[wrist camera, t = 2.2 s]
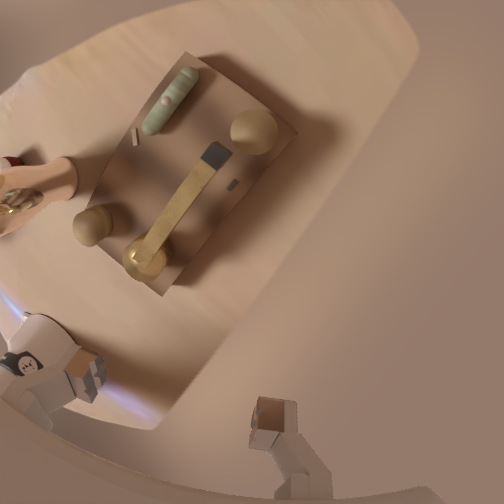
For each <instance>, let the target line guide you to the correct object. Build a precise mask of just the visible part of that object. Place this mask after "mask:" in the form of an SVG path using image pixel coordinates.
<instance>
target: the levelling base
mask: <svg viewBox="0 0 504 504" xmlns="http://www.w3.org/2000/svg"><path fill="white" fill-rule="evenodd" d="M297 134H298V132H296V131H295V130H294V129H293V128H292V127H290V126H289V125H288V124H287V123H286V122H284V121H283V120H282V119H281V118H280V117H278V116H277V115H276V114H275V113H273V112H272V111H271V110H270V109H268V108H267V107H266V106H264V105H263V104H262V103H261V102H259V101H258V100H257V99H255V98H254V97H253V96H251V95H250V94H249V93H247V92H246V91H245V90H243V89H242V88H240V87H239V86H238V85H236V84H235V83H233V82H232V81H231V80H229V79H228V78H226V77H225V76H223V75H222V74H220V73H219V72H217V71H216V70H214V69H213V68H211V67H210V66H208V65H207V64H205V63H204V62H202V61H201V60H199V59H197V58H196V57H194V56H193V55H191V54H189V53H188V52H186V51H185V53H184V54H183V55H182V56H181V57H180V59H179V60H178V61H177V62H176V63H175V65H174V66H173V67H172V68H171V70H170V71H169V72H168V74H167V75H166V76H165V77H164V79H163V80H162V81H161V83H160V84H159V85H158V87H157V88H156V89H155V91H154V92H153V94H152V95H151V96H150V98H149V99H148V101H147V102H146V103H145V105H144V106H143V108H142V109H141V111H140V112H139V114H138V115H137V117H136V118H135V120H134V121H133V123H132V124H131V126H130V128H129V129H128V131H127V132H126V134H125V136H124V137H123V139H122V141H121V142H120V144H119V146H118V147H117V149H116V151H115V153H114V154H113V156H112V158H111V160H110V161H109V163H108V165H107V167H106V169H105V171H104V173H103V174H102V176H101V178H100V180H99V182H98V184H97V186H96V188H95V190H94V192H93V194H92V196H91V198H90V201H89V203H88V205H87V207H86V209H85V211H83V212H81V213H79V214H77V215H76V216H75V218H74V220H73V232H74V235H75V237H76V238H77V240H78V241H79V242H80V243H81V244H82V245H84V246H87V247H92V246H94V245H96V244H97V245H98V246H99V247H100V248H101V249H103V250H104V251H105V252H106V253H107V254H109V255H110V256H111V257H112V258H113V259H115V260H116V261H117V262H118V263H119V264H121V265H122V266H123V267H124V265H123V262H122V255H123V252H124V250H125V248H126V247H127V246H128V245H129V244H131V243H132V242H133V241H134V240H135V239H136V238H138V237H139V236H140V235H141V234H142V233H144V232H146V231H150V229H151V228H152V226H153V225H154V223H155V222H156V220H157V219H158V217H159V216H160V214H161V213H162V211H163V210H164V208H165V207H166V205H167V204H168V202H169V201H170V199H171V198H172V197H173V195H174V194H175V192H176V191H177V190H178V188H179V187H180V185H181V184H182V183H183V181H184V180H185V178H186V177H187V176H188V174H189V173H190V172H191V170H192V169H193V168H194V166H195V165H196V164H197V162H198V161H199V160H200V157H201V156H202V155H203V153H204V152H205V151H206V149H207V148H208V147H209V146H210V144H211V143H212V142H216V141H218V142H219V143H221V144H222V145H223V146H224V147H226V148H227V149H228V150H230V151H231V152H232V153H233V155H232V156H231V157H230V158H229V159H228V161H227V162H226V163H225V164H224V166H223V167H222V168H221V169H220V170H219V171H218V172H217V173H216V175H215V176H214V177H213V178H212V180H211V181H210V182H209V184H208V185H207V186H206V187H205V189H204V190H203V191H202V193H201V194H200V195H199V197H198V198H197V199H196V200H195V202H194V203H193V204H192V206H191V207H190V208H189V210H188V211H187V213H186V214H185V215H184V217H183V218H182V219H181V221H180V222H179V223H178V225H177V226H176V228H175V229H174V230H173V232H172V233H171V235H170V236H169V237H168V240H169V242H170V244H171V246H172V257H171V260H170V261H169V263H168V264H167V265H166V267H165V268H164V269H163V271H162V272H161V273H160V275H159V276H158V277H157V278H156V279H155V280H154V281H151V282H143V283H145V284H146V285H147V286H148V287H150V288H151V289H152V290H154V291H155V292H156V293H158V294H159V295H160V296H163V295H164V294H165V292H166V291H167V290H168V288H169V287H170V286H171V285H172V283H173V282H174V281H175V279H176V278H177V277H178V276H179V274H180V273H181V272H182V270H183V269H184V268H185V267H186V265H187V264H188V263H189V262H190V260H191V259H192V258H193V257H194V255H195V254H196V253H197V252H198V250H199V249H200V248H201V247H202V245H203V244H204V243H205V242H206V240H207V239H208V238H209V237H210V235H211V234H212V233H213V232H214V231H215V229H216V228H217V227H218V226H219V224H220V223H221V222H222V221H223V220H224V218H225V217H226V216H227V215H228V214H229V212H230V211H231V210H232V209H233V208H234V206H235V205H236V204H237V203H238V202H239V200H240V199H241V198H242V197H243V196H244V195H245V193H246V192H247V191H248V190H249V189H250V187H251V186H252V185H253V184H254V183H255V182H256V180H257V179H258V178H259V177H260V176H261V175H262V174H263V172H264V171H265V170H266V169H267V168H268V167H269V166H270V164H271V163H272V162H273V161H274V160H275V159H276V158H277V156H278V155H279V154H280V153H281V152H282V151H283V150H284V149H285V147H286V146H287V145H288V144H289V143H290V142H291V141H292V140H293V138H294V137H295V136H296V135H297Z"/></svg>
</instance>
